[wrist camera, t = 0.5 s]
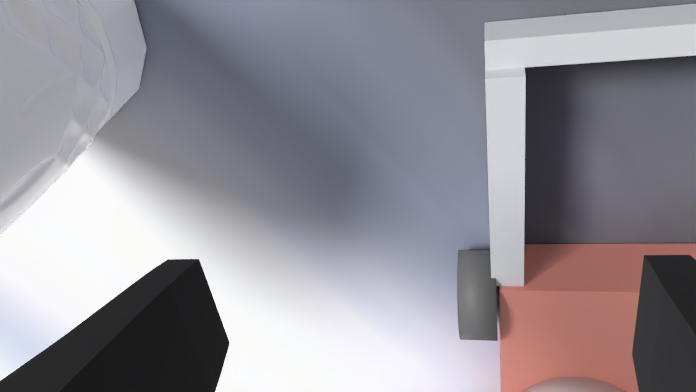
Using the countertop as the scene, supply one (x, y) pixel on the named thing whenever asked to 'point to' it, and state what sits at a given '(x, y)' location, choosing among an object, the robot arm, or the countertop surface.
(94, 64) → the white cup
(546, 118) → the countertop surface
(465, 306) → the toy car
